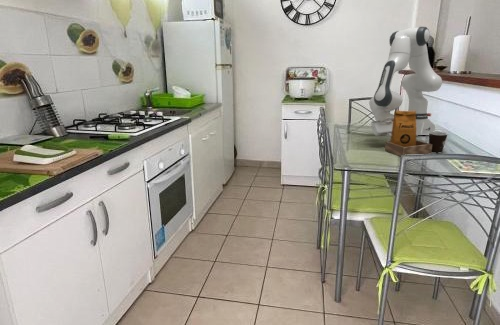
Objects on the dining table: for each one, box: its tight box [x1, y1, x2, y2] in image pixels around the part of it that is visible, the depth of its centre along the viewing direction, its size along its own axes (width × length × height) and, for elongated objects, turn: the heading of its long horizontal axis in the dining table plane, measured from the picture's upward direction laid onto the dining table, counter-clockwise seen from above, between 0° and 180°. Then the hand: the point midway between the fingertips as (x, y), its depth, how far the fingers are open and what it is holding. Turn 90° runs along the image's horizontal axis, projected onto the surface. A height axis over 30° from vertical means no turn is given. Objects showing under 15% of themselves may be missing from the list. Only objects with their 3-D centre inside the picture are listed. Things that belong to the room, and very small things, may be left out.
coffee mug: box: [428, 131, 448, 153], centre depth 178 cm, size 12×9×10 cm
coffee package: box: [390, 110, 417, 147], centre depth 180 cm, size 10×12×22 cm
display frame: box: [384, 139, 432, 157], centre depth 179 cm, size 18×14×5 cm
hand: (394, 140), depth 187 cm, fingers closed
